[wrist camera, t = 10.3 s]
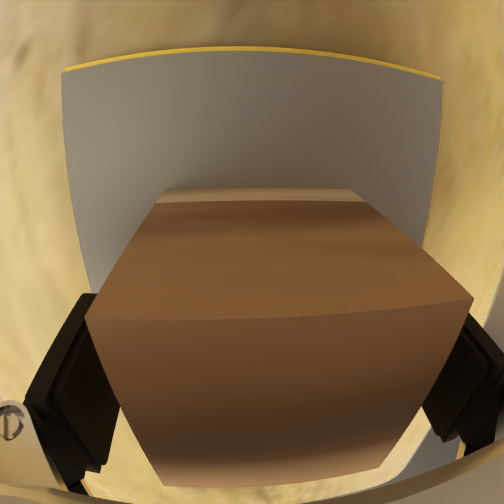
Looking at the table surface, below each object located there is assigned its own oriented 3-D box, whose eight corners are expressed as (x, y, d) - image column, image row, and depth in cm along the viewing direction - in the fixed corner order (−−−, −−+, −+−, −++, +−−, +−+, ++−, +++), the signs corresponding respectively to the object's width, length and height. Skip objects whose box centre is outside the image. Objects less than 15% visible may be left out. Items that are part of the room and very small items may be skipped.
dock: (93, 72, 11) (61, 67, 8) (409, 78, 12) (447, 77, 9) (138, 362, 18) (129, 399, 15) (363, 352, 19) (379, 386, 16)
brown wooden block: (164, 190, 10) (84, 316, 4) (349, 189, 11) (474, 298, 5) (182, 337, 13) (164, 485, 7) (328, 331, 14) (378, 467, 7)
